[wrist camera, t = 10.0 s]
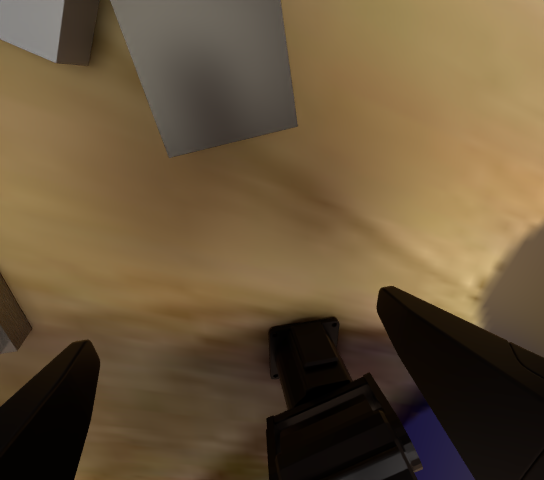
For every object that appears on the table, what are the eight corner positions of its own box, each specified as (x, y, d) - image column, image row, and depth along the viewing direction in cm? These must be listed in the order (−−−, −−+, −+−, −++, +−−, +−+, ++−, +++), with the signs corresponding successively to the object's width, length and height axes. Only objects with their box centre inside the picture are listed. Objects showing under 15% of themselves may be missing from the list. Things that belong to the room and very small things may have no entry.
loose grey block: (274, 114, 18) (297, 126, 14) (177, 137, 17) (169, 157, 13) (243, -68, 14) (262, -132, 9) (114, -44, 13) (72, -100, 9)
